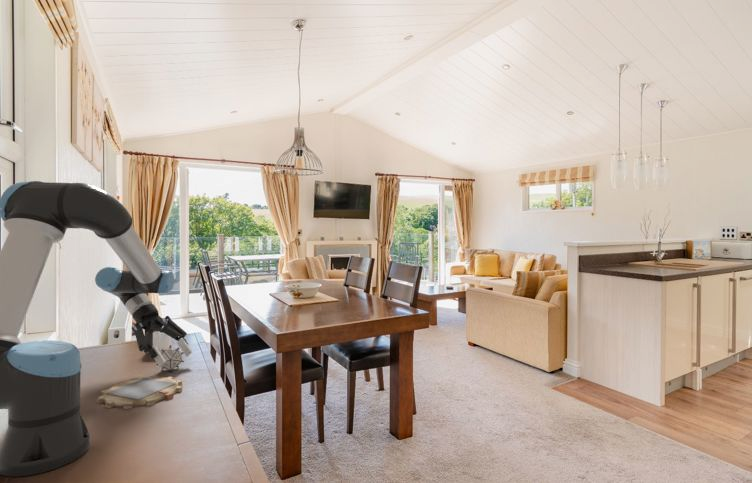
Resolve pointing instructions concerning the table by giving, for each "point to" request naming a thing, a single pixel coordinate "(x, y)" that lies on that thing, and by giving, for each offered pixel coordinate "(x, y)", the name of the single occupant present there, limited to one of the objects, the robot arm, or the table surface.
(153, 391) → the sprocket plate
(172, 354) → the game die
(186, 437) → the table surface
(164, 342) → the mug
